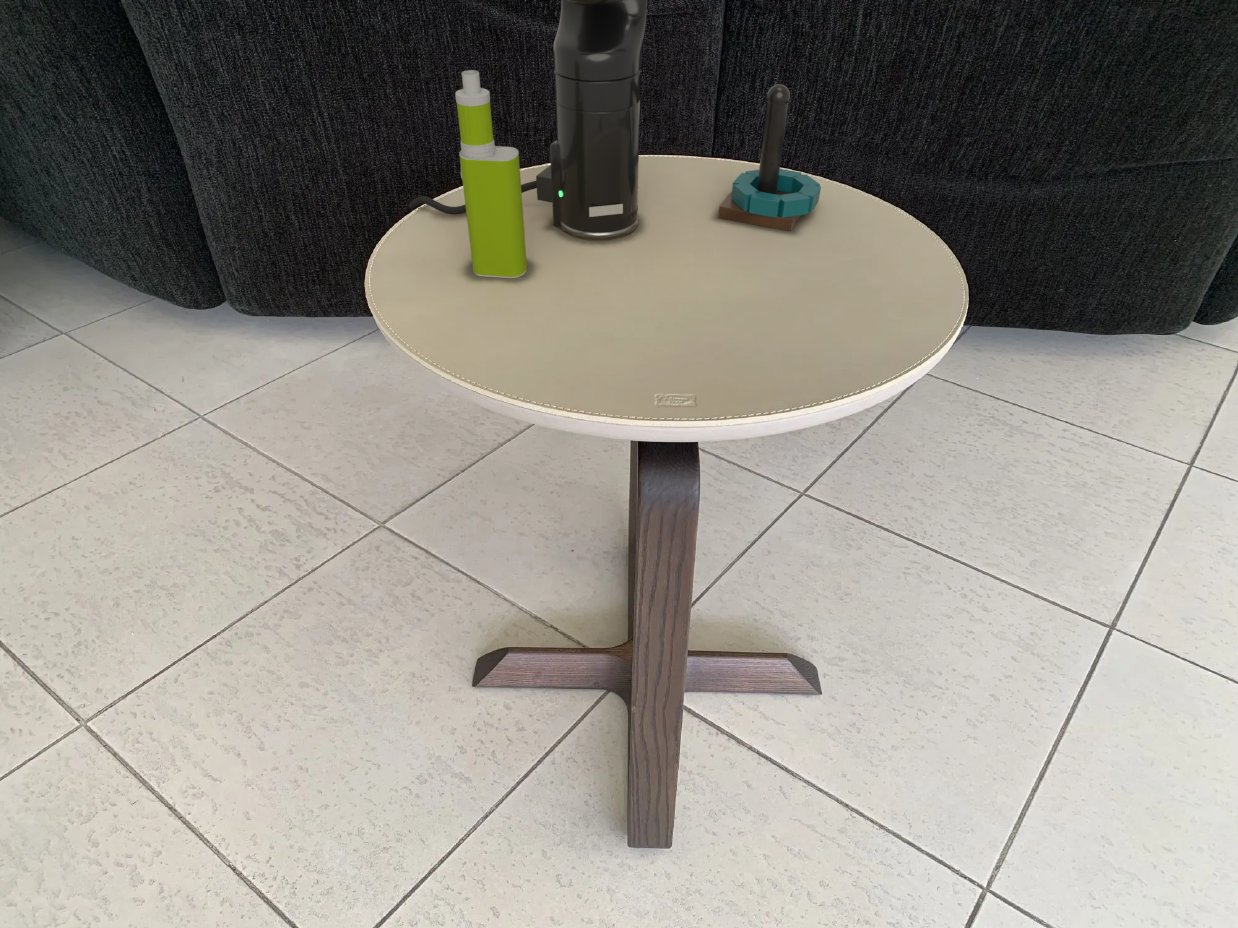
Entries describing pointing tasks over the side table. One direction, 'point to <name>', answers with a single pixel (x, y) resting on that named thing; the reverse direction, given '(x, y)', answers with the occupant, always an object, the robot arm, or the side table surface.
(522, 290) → the side table surface
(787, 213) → the ring
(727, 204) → the peg stand
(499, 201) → the vape
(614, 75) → the robot arm
